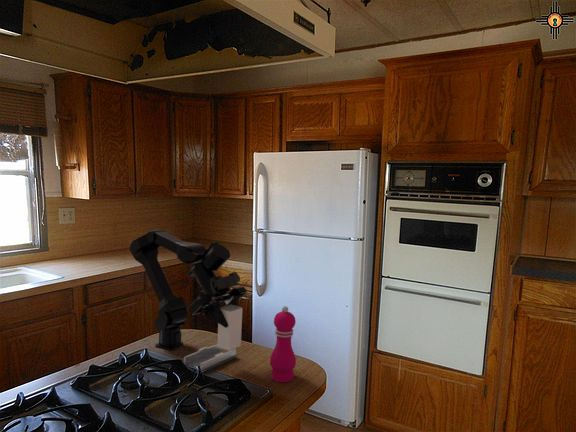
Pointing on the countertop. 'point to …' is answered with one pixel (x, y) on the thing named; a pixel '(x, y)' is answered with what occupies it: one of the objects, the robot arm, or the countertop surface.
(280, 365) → the pepper mill
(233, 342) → the block
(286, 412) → the countertop surface
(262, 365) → the countertop surface
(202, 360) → the rail plate
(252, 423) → the countertop surface
